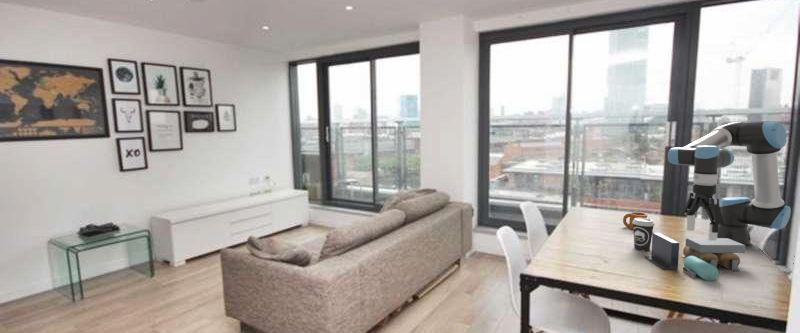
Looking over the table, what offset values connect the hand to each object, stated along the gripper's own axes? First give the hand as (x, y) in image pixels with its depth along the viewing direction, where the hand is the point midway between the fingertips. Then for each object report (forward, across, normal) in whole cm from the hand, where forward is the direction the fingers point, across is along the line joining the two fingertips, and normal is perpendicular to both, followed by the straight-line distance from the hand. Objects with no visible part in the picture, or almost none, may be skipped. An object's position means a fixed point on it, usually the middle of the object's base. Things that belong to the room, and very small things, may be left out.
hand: (700, 235), depth 162 cm
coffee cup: (+17, -33, -6) cm, 37 cm away
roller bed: (+17, -9, +8) cm, 21 cm away
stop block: (+17, -13, -8) cm, 23 cm away
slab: (+10, -13, +14) cm, 22 cm away
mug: (+17, -71, +9) cm, 73 cm away
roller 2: (+17, 0, 0) cm, 17 cm away
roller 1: (+17, -13, +9) cm, 23 cm away
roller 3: (+17, -13, +17) cm, 27 cm away
